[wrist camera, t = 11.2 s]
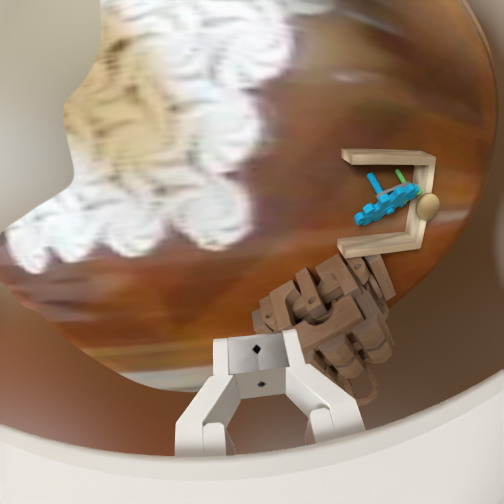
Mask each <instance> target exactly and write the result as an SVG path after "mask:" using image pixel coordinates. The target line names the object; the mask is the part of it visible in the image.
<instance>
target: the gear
mask: <svg viewBox="0 0 504 504" xmlns="http://www.w3.org/2000/svg"><path fill="white" fill-rule="evenodd" d="M395 173H396V174H397V176H398V178H399V180H400V181H401V183H402V184H400V185H397V186H395V187H392V188H390V189H387V190H385V191H383V189H382V188H381V186H380V184H379V182H378V181H377V179H376V177H375V176H374V174H373V172H371V173H369V174H367V178H368V180H369V181H370V183H371V185H372V186H373V188H374V190H375V192H376V194H377V195H376V198H377V200H378V202H377V203H376V204H375V205H373V204H372V203H370V204H368V205H366V206H365V207H363V210H364V212H359V213H358V214H356V215H355V216H354V217H355V222H356V224H357V226H359V225H361V224H363V225H367V224H369V223H370V222H371V221H374V222H375V221H378V220H380V219H381V218H382V217H383V216H384V215H385V214H387V215H389V214H391V213H393V212H395V211H394V210H395V209H396V208H397V207H398V206H399V207H400V208H401V207H403V206H404V205H406V204H407V201H409V200H411V199H413V198H414V197H416V196H418V195H420V194H422V191H421V189H420V187H419V185H418V184H416V185H413V183H410V181H408V182H406V180H405V178H404V177H403V175H402V173H401V172H400V170H399V169H396V170H395Z"/></svg>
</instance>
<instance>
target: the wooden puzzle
mask: <svg viewBox="0 0 504 504" xmlns="http://www.w3.org/2000/svg"><path fill="white" fill-rule="evenodd" d="M343 257H344V256H343ZM362 257H363V259H364V261H365V262H366V264H367V265H368V267H369V269H370V271H371V273H372V274H371V273H370V271H369V270H368V268H367V267H366V265H365V263H364V261H363V259H362V258H361V257H353V258H345V260H346V262H347V265H345V263H344V262H343V260H342V258H341V257H340V255H339V254H338V253H337V254H336V255H334V256H333V257H331V258H329V259H328V260H326V261H324V262H323V263H321V264H319V265H318V266H316V267H315V269H316V271H317V273H318V275H319V277H320V278H321V280H320V283H319V284H318V286H316V283H315V281H314V279H313V276H312V275H311V273H310V272H309V270H308V269H307V267H306V268H304V269H302V270H301V271H299V272H297V273H296V274H295V276H296V279H297V282H298V285H299V288H300V290H299V288H298V286H297V285H296V283H295V282H294V281H293V280H290V281H288V282H287V283H285V284H283V285H282V286H280V287H278V288H276V289H275V290H273V291H271V292H270V295H268V296H266V297H264V298H263V299H261V300H259V303H260V308H259V309H257V310H255V311H254V312H252V319H253V326H254V331H255V332H256V333H257V334H264V333H270V332H277V331H285V330H291V329H296V331H297V334H298V337H299V341H300V345H301V348H302V352H303V356H304V359H305V363H306V364H311V365H312V366H313V367H315V368H316V369H317V370H318V371H320V372H321V373H322V374H323V375H325V376H326V377H327V378H328V379H330V380H331V381H332V382H333V383H335V384H337V381H339V380H341V379H342V380H343V383H344V386H345V389H346V392H347V394H349V395H350V396H351V397H353V398H354V399H355V400H356V403H357V406H363V405H366V404H369V403H370V402H372V401H373V400H375V399H376V397H377V396H378V394H379V389H380V388H379V384H378V382H377V379H376V377H375V374H374V372H373V370H372V368H371V365H370V364H371V363H374V364H377V363H383V362H386V360H387V359H388V358H389V357H390V356H391V355H392V347H394V346H395V343H394V340H393V338H392V336H391V333H390V331H389V329H388V326H387V324H386V322H385V320H386V319H387V317H388V315H389V309H388V306H387V304H386V301H387V300H389V299H390V298H392V297H394V296H395V295H396V293H395V290H394V287H393V285H392V282H391V279H390V277H389V274H388V272H387V269H386V267H385V264H384V262H383V259H382V257H381V255H380V254H376V255H368V256H362ZM372 275H373V276H372ZM300 291H301V292H300ZM383 297H384V298H383ZM384 299H385V300H384ZM329 302H331V304H332V306H331V308H330V310H329V311H327V309H326V307H325V304H327V303H329ZM364 367H365V370H366V372H367V375H368V377H369V380H370V382H371V385H372V388H373V390H372V392H371V394H370V395H369V396H367V397H365V398H362V399H357V398H356V396H355V394H354V391H353V388H352V385H351V383H350V380H349V379H350V378H356V377H358V375H359V374H360V373H361V372H362V371H363V370H364Z"/></svg>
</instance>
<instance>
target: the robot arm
mask: <svg viewBox="0 0 504 504" xmlns="http://www.w3.org/2000/svg"><path fill="white" fill-rule="evenodd" d="M213 373H214V376H212V377H209V378H208V380H207V381H206V382H205V384H204V385H203V387H202V388H201V389H200V391H199V392H198V394H197V395H196V396H195V398H194V399H193V401H192V402H191V403H190V405H189V406H188V407H187V409H186V410H185V411H184V413H183V414H182V416H181V417H180V418H179V420H178V421H177V422H176V433H175V456H151V455H138V454H128V453H120V452H112V451H105V450H98V449H93V448H87V447H82V446H77V445H72V444H67V443H63V442H59V441H55V440H51V439H47V438H43V437H40V436H36V435H33V434H29V433H26V432H23V431H20V430H17V429H14V428H12V427H9V426H6V425H2V424H0V504H504V369H502V370H501V371H499V372H497V373H496V374H494V375H492V376H491V377H489V378H487V379H486V380H484V381H482V382H480V383H479V384H477V385H475V386H473V387H471V388H469V389H468V390H466V391H464V392H462V393H460V394H458V395H456V396H454V397H452V398H450V399H447V400H445V401H443V402H441V403H439V404H437V405H435V406H432V407H430V408H428V409H425V410H423V411H421V412H418V413H415V414H413V415H410V416H408V417H405V418H403V419H400V420H397V421H394V422H391V423H389V424H386V425H383V426H380V427H377V428H373V429H370V430H367V431H366V430H365V428H364V424H363V421H362V418H361V415H360V412H359V409H358V406H357V403H356V400H355V399H354V398H353V397H351V396H350V395H349V394H347V393H346V392H345V391H344V390H342V389H341V388H340V387H338V386H337V385H336V384H335V383H333V382H332V381H331V380H330V379H328V378H327V377H326V376H325V375H323V374H322V373H321V372H320V371H318V370H317V369H316V368H315V367H313V366H312V365H311V364H306V363H305V359H304V356H303V352H302V348H301V345H300V341H299V337H298V334H297V331H296V329H291V330H285V331H277V332H270V333H264V334H257V335H253V336H243V337H232V338H221V339H214V342H213ZM284 393H286V395H287V396H288V397H289V398H290V399H291V400H292V401H293V402H294V403H295V404H296V405H297V407H298V408H299V409H300V410H301V411H302V412H303V413H304V414H305V415H306V416H307V417H308V418H309V420H308V424H307V429H306V434H305V442H306V446H301V447H295V448H290V449H283V450H276V451H269V452H261V453H252V454H242V455H235V447H234V445H233V443H232V441H231V439H230V437H229V435H228V433H227V431H226V427H227V425H228V423H229V421H230V420H231V418H232V416H233V414H234V412H235V410H236V408H237V407H238V405H239V403H240V401H241V399H245V398H253V397H260V396H267V395H276V394H284Z"/></svg>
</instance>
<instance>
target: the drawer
mask: <svg viewBox="0 0 504 504" xmlns="http://www.w3.org/2000/svg"><path fill="white" fill-rule="evenodd" d="M341 158H343V159H344V160H346V161H347V162H349V163H350V164H352V165H366V164H394V165H414V174H413V182H412V183H413V185H416V184H418V185H419V187H420V189H421V191H422V194H420V195H418V196H416V197H414V198H413V199H411V200H410V204H409V211H408V217H407V223H406V228H405V232H395V233H386V234H376V235H367V236H358V237H348V238H339V239H337V247H338V248H339V250H340V252H341V253H342V255H343V256H344V258H353V257H361V256H368V255H376V254H383V253H391V252H398V251H405V250H412V249H419V248H421V244H422V239H423V235H424V230H425V225H426V221H428V220H431V219H432V218H434V217H435V215H436V214H437V212H438V210H439V199H438V198H437V197H436V196H435V195H434V194H432V193H431V192H432V186H433V178H434V171H435V162H436V157H434V156H432V155H430V154H428V153H425V152H423V151H414V150H393V149H342V157H341Z"/></svg>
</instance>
